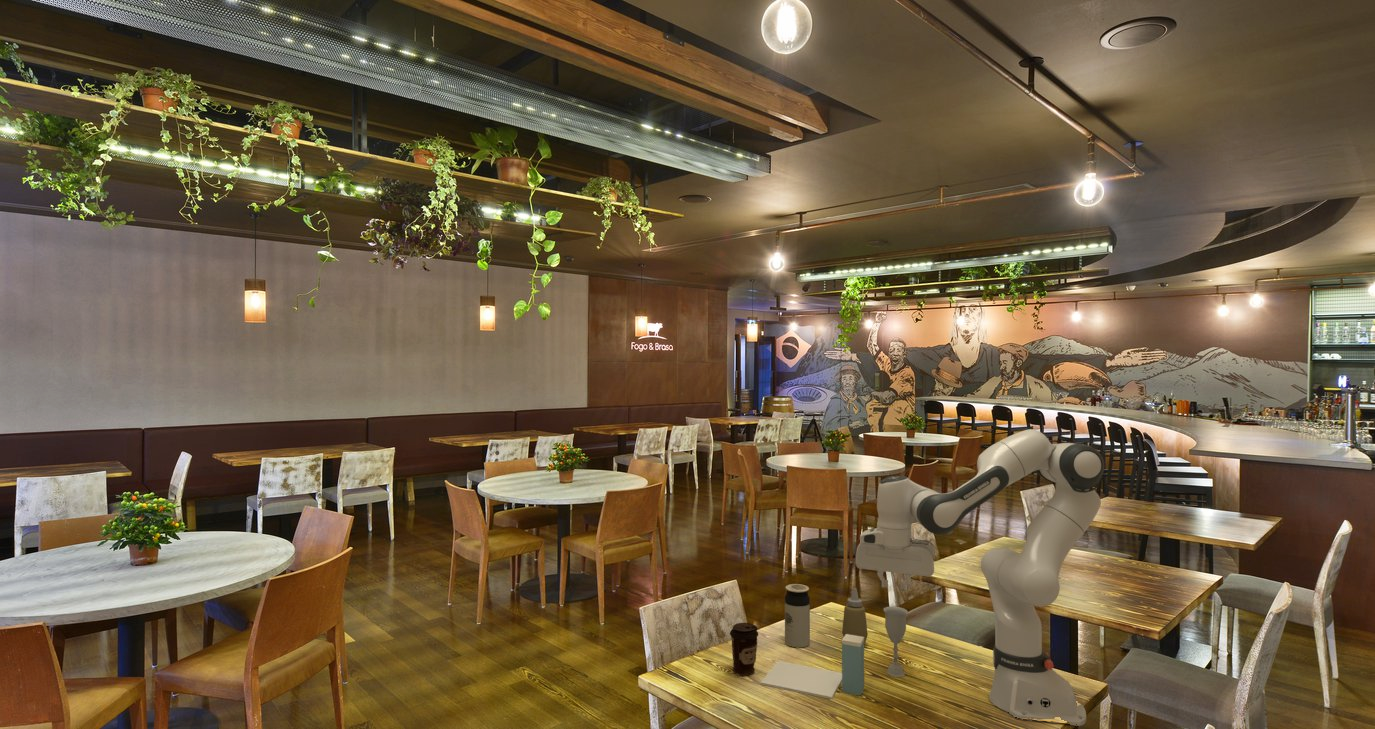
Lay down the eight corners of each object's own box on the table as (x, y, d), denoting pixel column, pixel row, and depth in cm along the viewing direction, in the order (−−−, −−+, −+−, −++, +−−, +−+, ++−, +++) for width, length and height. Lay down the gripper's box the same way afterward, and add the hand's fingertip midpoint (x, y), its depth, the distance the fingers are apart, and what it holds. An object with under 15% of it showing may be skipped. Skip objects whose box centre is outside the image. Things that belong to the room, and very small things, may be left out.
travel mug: (804, 637, 223) (804, 582, 224) (813, 647, 215) (813, 590, 216) (781, 639, 221) (781, 584, 222) (790, 649, 214) (790, 591, 214)
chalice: (909, 679, 192) (909, 615, 193) (884, 677, 194) (884, 614, 194) (906, 668, 200) (906, 607, 200) (882, 666, 201) (882, 605, 201)
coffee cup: (765, 671, 198) (765, 626, 198) (747, 680, 191) (747, 634, 192) (741, 662, 203) (741, 619, 204) (723, 671, 197) (724, 626, 198)
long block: (864, 687, 187) (864, 636, 187) (860, 695, 183) (860, 643, 183) (846, 684, 189) (845, 633, 190) (842, 691, 185) (842, 640, 185)
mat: (844, 675, 195) (844, 673, 195) (831, 699, 180) (831, 697, 181) (778, 662, 204) (778, 660, 204) (760, 684, 189) (760, 682, 189)
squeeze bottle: (870, 649, 213) (870, 592, 214) (845, 649, 214) (844, 592, 214) (864, 639, 221) (864, 584, 222) (839, 639, 222) (839, 584, 222)
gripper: (936, 538, 181) (936, 590, 180) (858, 530, 189) (858, 580, 189) (933, 543, 175) (934, 597, 175) (853, 535, 184) (854, 586, 183)
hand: (894, 588), depth 182 cm, fingers open, 3 cm apart
